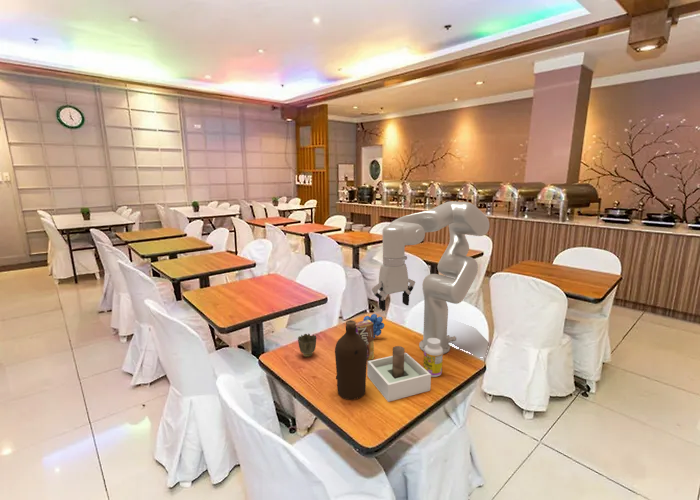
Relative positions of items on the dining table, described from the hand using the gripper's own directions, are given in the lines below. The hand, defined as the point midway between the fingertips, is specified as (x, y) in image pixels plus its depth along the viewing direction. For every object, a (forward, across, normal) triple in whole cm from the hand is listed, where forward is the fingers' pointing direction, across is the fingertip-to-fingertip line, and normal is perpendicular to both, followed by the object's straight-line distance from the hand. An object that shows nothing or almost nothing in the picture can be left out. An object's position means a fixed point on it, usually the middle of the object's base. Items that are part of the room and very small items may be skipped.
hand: (394, 306), depth 129 cm
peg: (+23, +4, +9) cm, 25 cm away
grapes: (+25, -3, -26) cm, 36 cm away
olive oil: (+24, +21, +6) cm, 33 cm away
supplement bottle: (+25, -11, +9) cm, 29 cm away
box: (+24, +4, +9) cm, 26 cm away
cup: (+24, +27, -23) cm, 43 cm away
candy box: (+25, +8, -11) cm, 28 cm away
